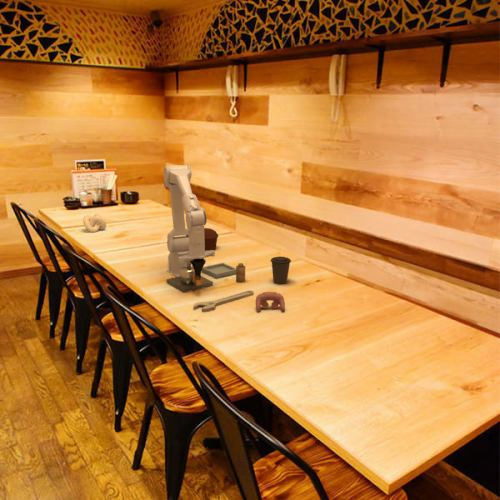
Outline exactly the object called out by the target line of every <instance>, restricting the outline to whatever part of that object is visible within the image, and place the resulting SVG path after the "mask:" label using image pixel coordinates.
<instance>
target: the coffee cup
mask: <svg viewBox="0 0 500 500" xmlns="http://www.w3.org/2000/svg"><path fill="white" fill-rule="evenodd" d="M291 262H292V259H290V258H289V257H286V256H282V255H281V256H275V257H274V256H273V257H272V258H271V259H270V263H271V271H272V281H273V284H276V285H286V284H287V282H288V278H289V277H288V276H289V271H290V264H291Z"/></svg>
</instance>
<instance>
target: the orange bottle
mask: <svg viewBox="0 0 500 500" xmlns="http://www.w3.org/2000/svg"><path fill="white" fill-rule="evenodd" d="M235 268H236V274H235V281H236V283H239V284H241V283H245V282H246V266H245V265H244V263H243V262H238V264H237V265H236V267H235Z"/></svg>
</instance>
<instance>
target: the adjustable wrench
mask: <svg viewBox="0 0 500 500" xmlns="http://www.w3.org/2000/svg"><path fill="white" fill-rule="evenodd" d="M254 294H255V293H254V291H253V290H246V291H243V292H238V293H236V294H233V295H230V296H226V297H223V298H219V299H215V300H210V301H199V302H196V303H194V304H193V305H192V307H193V311H196V310H197V309H201V313H209V312H211V311H215V310H216V308H217V307H218V306H222V305H225V304H228V303H233V302H235V301H238V300H241V299H244V298H245V299H246V298H248V297H251V296H254Z"/></svg>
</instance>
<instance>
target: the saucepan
mask: <svg viewBox="0 0 500 500" xmlns="http://www.w3.org/2000/svg"><path fill="white" fill-rule="evenodd" d="M180 281H181V282H183V283H195V284H196V285H202V284H201V279H200V278H199V277H198V276H197V274H196V273H195V271H194V268H193V266H192V264H191V263H190V261H187V267H182V268H181V269H180Z"/></svg>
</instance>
